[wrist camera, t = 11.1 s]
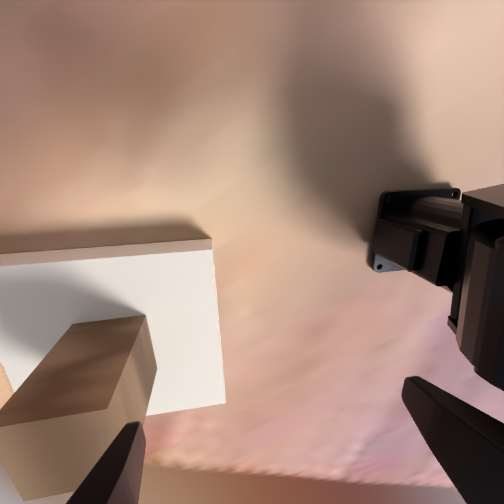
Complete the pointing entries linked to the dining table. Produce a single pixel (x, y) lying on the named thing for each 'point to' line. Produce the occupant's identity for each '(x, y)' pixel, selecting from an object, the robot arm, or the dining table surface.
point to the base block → (120, 311)
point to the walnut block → (76, 404)
